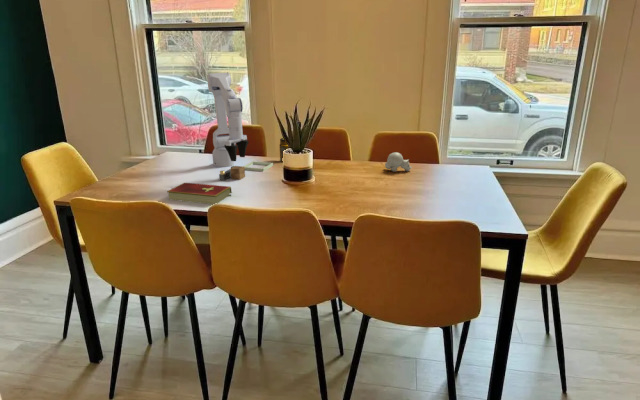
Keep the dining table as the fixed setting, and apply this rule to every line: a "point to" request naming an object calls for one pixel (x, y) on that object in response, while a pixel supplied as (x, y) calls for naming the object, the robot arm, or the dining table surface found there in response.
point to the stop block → (237, 172)
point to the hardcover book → (200, 193)
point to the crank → (225, 174)
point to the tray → (258, 164)
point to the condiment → (282, 147)
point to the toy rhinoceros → (397, 162)
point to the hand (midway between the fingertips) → (238, 159)
